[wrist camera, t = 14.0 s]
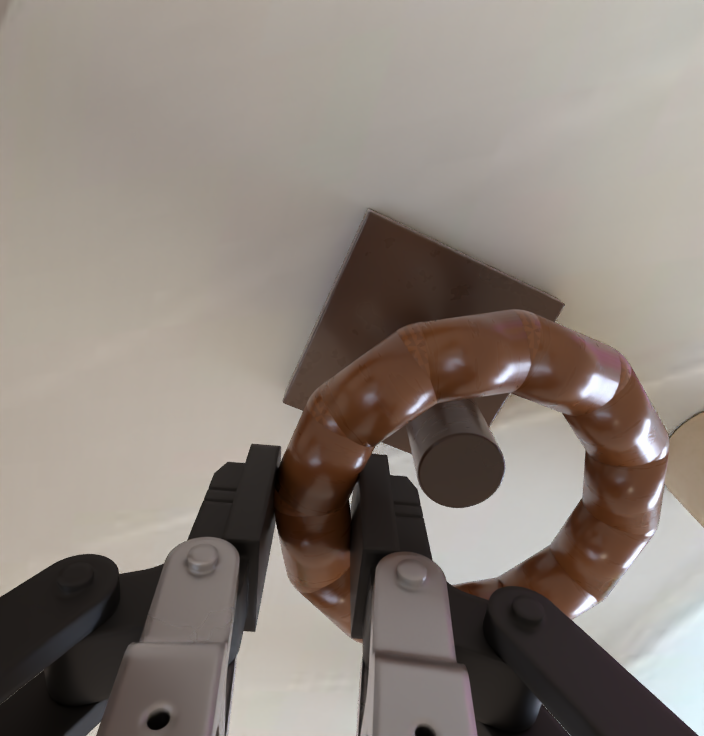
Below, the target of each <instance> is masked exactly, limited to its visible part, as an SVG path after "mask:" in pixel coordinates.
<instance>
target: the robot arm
mask: <svg viewBox="0 0 704 736" xmlns="http://www.w3.org/2000/svg"><path fill="white" fill-rule="evenodd" d="M280 461H281V446H273V445H261V444H251V447H250V450H249V453H248V456H247V459H246V462H245V463H235V462H227V463H226V464H225V465H224V466H222V467H221V468H220V469H219V470H218V471H216V472H215V473H214V476H213V478H212V480H211V483H210V485H209V490H207V493H206V495H205V498H204V501H203V503H202V505H201V508H200V510H199V513H198V515H197V518H196V520H195V523H194V525H193V527H192V530H191V532H190V535H189V537H188V540H187V541H185V542H183V543H181V544H179V545H178V546H176V547H175V548H174V549H173V550H172V551H171V552H170V553H169V554H168V556H167V558H166V560H165V563H164V564H162V565H159V566H157V567H154V568H150V569H146V570H140V571H135V572H129V573H123V574H119V571H118V568H117V565H116V564H115V563H114V562H113V561H112V560H111V559H109V558H107V557H105V556H101V555H95V554H83V555H76V556H72V557H68V558H65V559H63V560H60V561H58V562H56V563H54V564H53V565H51V566H49V567H48V568H46V569H44V570H43V571H41V572H40V573H38V574H36V575H35V576H33V577H32V578H30V579H29V580H27V581H25V582H24V583H22V584H21V585H19V586H17V587H16V588H14V589H13V590H11V591H9V592H8V593H6V594H5V595H3V596H1V597H0V736H86V735H87V734H88V733H89V732H90V731H91V730H92V729H93V728H94V727H95V726H97V725H98V724H99V723H100V722H101V723H100V726H99V729H98V732H97V735H96V736H228V731H229V722H230V714H231V705H232V697H233V688H234V680H235V671H236V657H237V654H238V651H239V648H240V644H241V639H242V635H243V631H251V632H255V630H256V625H257V619H258V614H259V609H260V603H261V598H262V592H263V587H264V582H265V576H266V571H267V566H268V560H269V555H270V549H271V544H272V539H273V533H274V528H275V522H276V520H275V515H274V492H275V482H276V475H277V470H278V467H279V465H280ZM351 518H352V532H351V545H350V610H351V638H354V639H363V658H362V664H361V671H360V684H359V700H358V716H357V732H356V736H570V735H571V736H698V735H697V734H696V733H695V732H694V731H693V730H692V729H691V728H690V727H688V726H687V725H686V724H685V723H684V722H683V721H682V720H681V719H680V718H679V717H677V716H676V715H675V714H674V713H673V712H672V711H671V710H670V709H669V708H668V707H666V706H665V705H664V704H663V703H662V702H661V701H660V700H659V699H658V698H657V697H656V696H654V695H653V694H652V693H651V692H650V691H649V690H648V689H647V688H646V687H645V686H643V685H642V684H641V683H640V682H639V681H638V680H637V679H636V678H635V677H634V676H632V675H631V674H630V673H629V672H628V671H627V670H626V669H625V668H624V667H623V666H621V665H620V664H619V663H618V662H617V661H616V660H615V659H614V658H613V657H612V656H610V655H609V654H608V653H607V652H606V651H605V650H604V649H603V648H602V647H601V646H599V645H598V644H597V643H596V642H595V641H594V640H593V639H592V638H591V637H590V636H588V635H587V634H586V633H585V632H584V631H583V630H582V629H581V628H580V627H579V626H577V625H576V624H575V623H574V622H573V621H572V620H571V619H570V618H569V617H568V616H566V615H565V614H564V613H563V612H562V611H561V610H560V609H559V608H558V607H557V606H555V605H554V604H553V603H552V602H551V601H550V600H549V599H547V598H546V597H544V596H543V595H541V594H539V593H537V592H536V591H533V590H531V589H528V588H524V587H519V586H506V587H502V588H499V589H497V590H495V591H494V592H493V593H492V595H491V596H490V598H489V600H487V599H484V598H481V597H478V596H475V595H472V594H469V593H466V592H464V591H461V590H459V589H457V588H455V587H454V586H452V585H451V584H449V583H448V582H447V581H446V577H445V575H444V573H443V571H442V570H441V568H440V567H439V566H438V565H437V564H436V563H435V562H433V561H432V556H431V551H430V546H429V542H428V537H427V532H426V527H425V523H424V518H423V513H422V509H421V506H420V499H419V494H418V490H417V488H416V487H415V486H414V485H413V484H412V482H411V481H410V480H409V479H408V478H407V477H405V476H393V475H390V472H389V464H388V457H387V455H379V454H371V456H370V458H369V460H368V461H367V463H366V465H365V467H364V469H363V471H362V472H361V473H360V475H359V479H358V481H357V483H356V485H355V487H354V489H353V495H352V503H351ZM40 672H41V673H40ZM35 676H36V677H35ZM30 680H31V681H30ZM26 683H27V684H26ZM25 684H26V685H25ZM21 687H22V688H21ZM20 688H21V689H20ZM16 691H17V692H16ZM11 695H12V696H11ZM6 699H7V700H6ZM2 702H3V703H2ZM1 703H2V704H1ZM543 705H544V706H545V707H546V708H547V709H548V710H547V709H546V708H545V707H544V706H543ZM552 715H553V716H554V717H555V718H556V719H557V720H556V719H555V718H554V717H553V716H552ZM560 724H561V725H562V726H563V727H564V728H565V729H564V728H563V727H562V726H561V725H560ZM568 733H569V734H570V735H569V734H568Z"/></svg>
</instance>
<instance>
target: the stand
mask: <svg viewBox="0 0 704 736" xmlns="http://www.w3.org/2000/svg"><path fill="white" fill-rule="evenodd" d="M564 305H565V304H564V303H563V302H561V301H560V300H558V299H557V298H555V297H554V296H552V295H549V294H547V293H545V292H543V291H541V290H539V289H537V288H535V287H533V286H531V285H528V284H526V283H524V282H522V281H520V280H518V279H516V278H514V277H512V276H510V275H508V274H505V273H503V272H501V271H499V270H497V269H495V268H493V267H491V266H489V265H487V264H484V263H482V262H480V261H478V260H476V259H474V258H472V257H470V256H468V255H466V254H464V253H461V252H459V251H457V250H455V249H453V248H451V247H449V246H447V245H445V244H443V243H440V242H438V241H436V240H434V239H432V238H430V237H428V236H426V235H424V234H422V233H419V232H417V231H415V230H413V229H411V228H409V227H407V226H405V225H403V224H401V223H399V222H396V221H394V220H392V219H390V218H388V217H386V216H384V215H382V214H380V213H378V212H375V211H373V210H371V209H367V211H366V213H365V215H364V218H363V220H362V222H361V224H360V226H359V229H358V231H357V233H356V235H355V238H354V240H353V242H352V244H351V246H350V249H349V251H348V253H347V255H346V257H345V260H344V262H343V264H342V266H341V269H340V271H339V273H338V275H337V277H336V280H335V282H334V284H333V286H332V289H331V291H330V293H329V295H328V297H327V300H326V302H325V304H324V306H323V309H322V311H321V313H320V315H319V317H318V320H317V322H316V324H315V326H314V328H313V331H312V333H311V335H310V337H309V340H308V342H307V344H306V346H305V348H304V351H303V353H302V355H301V357H300V360H299V362H298V364H297V366H296V368H295V371H294V373H293V375H292V377H291V380H290V382H289V384H288V386H287V388H286V391H285V394H284V398H283V403H285V404H287V405H290V406H293V407H295V408H298V409H300V410H303V411H304V408H305V406H306V404H307V402H308V400H309V398H310V396H311V395H312V394H313V392H314V391H315V390H316V389H317V388H318V387H320V386H321V385H322V384H323V383H325V382H326V381H328V380H329V379H330V378H332V377H333V376H334V375H336V374H337V373H339V372H340V371H341V370H343V369H344V368H345V367H347V366H348V365H350V364H351V363H352V362H354V361H355V360H356V359H358V358H359V357H361V356H362V355H363V354H365V353H366V352H368V351H369V350H370V349H372V348H373V347H374V346H376V345H377V344H379V343H380V342H381V341H383V340H384V339H385V338H387V337H388V336H390V335H391V334H392V333H394V332H395V331H396V330H398V329H399V328H401V327H403V326H406V325H409V324H412V323H418V322H426V321H433V320H440V319H447V318H454V317H461V316H468V315H475V314H482V313H489V312H497V311H504V310H512V309H517V310H518V309H519V310H525V311H528V312H532V313H534V314H536V315H539V316H541V317H543V318H546V319H548V320H550V321H553V322H555V320H556V319H557V317H558V315H559V314H560V312H561V310H562V309H563V307H564ZM509 394H510V393H503V394H496V395H489V396H483V397H476V398H469V399H463V400H456V401H449V402H442V403H437V404H435V405H434V406H432V407H431V408H429V409H428V410H427V411H425V412H424V413H422V414H421V415H419V416H418V417H416V418H415V419H414V420H412V421H411V422H409V423H408V424H406V425H405V426H403V427H402V428H401V429H399V430H398V431H396V432H395V433H393V434H392V435H390V436H389V437H388V438H386V439H385V440H383V441H382V442H383V443H385V444H388V445H390V446H393V447H395V448H398V449H400V450H403V451H405V452H408V453H410V454H412V455H413V460H414V464H415V469H416V473H417V478H418V482H419V485H420V487H421V489H422V490H423V492H424V493H425V494H426V495H427V496H428V497H429V498H430V499H431V500H433V501H434V502H436V503H438V504H440V505H443V506H446V507H452V508H464V507H470V506H474V505H476V504H479V503H481V502H483V501H485V500H486V499H488V498H489V497H490V496H491V495H493V493H494V492H495V491H496V490H497V489H498V488H499V486H500V484H501V482H502V480H503V477H504V473H505V460H504V456H503V454H502V452H501V450H500V448H499V446H498V444H497V442H496V440H495V438H494V436H493V434H492V432H491V431H490V429H489V426H490V425H491V423H492V421H493V420H494V418H495V417H496V415H497V413H498V412H499V410H500V409H501V407H502V405H503V404H504V402H505V401H506V399H507V397H508V396H509Z"/></svg>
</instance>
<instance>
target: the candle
mask: <svg viewBox="0 0 704 736" xmlns="http://www.w3.org/2000/svg"><path fill="white" fill-rule="evenodd" d="M669 444H670V446H669V456H668V463H667V470H666V477H665V485H666V486H667V488H668V489H669V491H670V492H671V493H672V494H673V495H674V497H675V498H676V499H677V500H678V501H679V502H680V503H681V504H682V505H683V506H684V507H685V508H686V509H687V510H688V512H689V513H690V514H691V515H692V516H693V517H694V518H695V519H696V520H697V521H698V522H699V523H700V524H701V525H702V526H703V527H704V412H703V413H701V414H699V415H696V416H695V417H693V418H691V419H690V420H688V421H687V422H686V423H684V424H683V425H682V426H681V427H680V428H678V429H677V430H676V432H675V433H674V434H673V435H672V436H671V438H670V439H669Z"/></svg>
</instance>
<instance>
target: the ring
mask: <svg viewBox="0 0 704 736" xmlns="http://www.w3.org/2000/svg"><path fill="white" fill-rule="evenodd" d="M503 393H512V394H515V395H517V396H520V397H522V398H525V399H528V400H530V401H533V402H535V403H538V404H541V405H543V406H546V407H548V408H551V409H554V410H556V411H559V412H562V414H563V415H564V417H565V418H566V420H567V421H568V423H569V425H570V426H571V428H572V429H573V431H574V432H575V434H576V435H577V437H578V438H579V440H580V441H581V443H582V445H583V446H584V448H585V449H586V453H585V467H584V481H583V496H582V499H581V500H580V502H579V503H578V505H577V506H576V508H575V509H574V511H573V512H572V514H571V515H570V516H569V518H568V519H567V521H566V522H565V524H564V525H563V527H562V528H561V530H560V531H559V533H558V534H557V536H556V537H555V539H554V540H553V542H552V543H551V545H549V546H547V547H546V548H544V549H543V550H541V551H539V552H538V553H536V554H535V555H533V556H531V557H530V558H528V559H526V560H525V561H523V562H522V563H520V564H518V565H517V566H515V567H514V568H512V569H510V570H509V571H507V572H506V573H504V574H502V575H501V576H499V577H497V578H491V579H485V580H479V581H473V582H467V583H462V584H456V585H452V586H454V587H455V588H457V589H459V590H461V591H464V592H466V593H469V594H472V595H475V596H478V597H481V598H484V599H487V600H489V598H490V596H491V595H492V593H493V592H494V591H495V590H497V589H499V588H502V587H506V586H519V587H524V588H528V589H531V590H533V591H536V592H537V593H539V594H541V595H543V596H544V597H546V598H547V599H549V600H550V601H551V602H552V603H553V604H554V605H555V606H557V607H558V608H559V609H560V610H561V611H562V612H563V613H564V614H565V615H566V616H568V617H569V618H570V619H571V620H572V619H574V618H575V617H577V616H579V615H580V614H582V613H584V612H586V611H587V610H589V609H591V608H592V607H594V606H596V605H597V604H599V603H600V602H602V601H603V600H604V599H605V598H606V597H607V596H608V595H609V593H610V592H611V591H612V589H613V588H614V587H615V585H616V584H617V583H618V581H619V580H620V579H621V577H622V576H623V575H624V573H625V572H626V571H627V569H628V568H629V567H630V565H631V564H632V563H633V561H634V560H635V559H636V557H637V556H638V555H639V553H640V552H641V551H642V549H643V548H644V547H645V545H646V544H647V543H648V541H649V540H650V539H651V537H652V536H653V535H654V533H655V531H656V530H657V527H658V524H659V519H660V512H661V505H662V498H663V491H664V484H665V477H666V470H667V463H668V456H669V446H670V444H669V437H668V434H667V431H666V429H665V427H664V425H663V423H662V421H661V419H660V418H659V416H658V414H657V412H656V410H655V409H654V407H653V405H652V403H651V401H650V400H649V398H648V396H647V394H646V392H645V391H644V389H643V387H642V385H641V383H640V382H639V380H638V378H637V376H636V374H635V373H634V371H633V369H632V367H631V365H630V364H629V362H628V361H627V359H626V358H625V357H624V356H623V355H622V354H621V353H620V352H619V351H618V350H616V349H614V348H612V347H610V346H608V345H606V344H604V343H601V342H599V341H597V340H594V339H592V338H590V337H587V336H585V335H583V334H581V333H578V332H576V331H574V330H571V329H569V328H567V327H564V326H562V325H560V324H557V323H555V322H553V321H550V320H548V319H546V318H543V317H541V316H539V315H536V314H534V313H532V312H528V311H525V310H519V309H518V310H517V309H512V310H504V311H497V312H489V313H482V314H475V315H468V316H461V317H454V318H447V319H440V320H433V321H426V322H418V323H412V324H409V325H406V326H403V327H401V328H399V329H398V330H396V331H395V332H394V333H392V334H391V335H390V336H388V337H387V338H385V339H384V340H383V341H381V342H380V343H379V344H377V345H376V346H374V347H373V348H372V349H370V350H369V351H368V352H366V353H365V354H363V355H362V356H361V357H359V358H358V359H356V360H355V361H354V362H352V363H351V364H350V365H348V366H347V367H345V368H344V369H343V370H341V371H340V372H339V373H337V374H336V375H334V376H333V377H332V378H330V379H329V380H328V381H326V382H325V383H323V384H322V385H321V386H320V387H318V388H317V389H316V390H315V391H314V392H313V394H312V395H311V396H310V398H309V400H308V402H307V404H306V406H305V408H304V411H303V413H302V415H301V418H300V420H299V422H298V424H297V427H296V429H295V431H294V433H293V436H292V438H291V440H290V442H289V445H288V447H287V449H286V451H285V454H284V456H283V458H282V461H281V463H280V465H279V467H278V470H277V475H276V482H275V492H274V515H275V520H276V525H277V529H278V534H279V539H280V544H281V549H282V553H283V558H284V563H285V568H286V572H287V575H288V578H289V580H290V582H291V583H292V584H293V586H294V587H295V588H296V589H297V590H298V591H299V592H300V593H301V594H302V595H303V596H304V597H305V598H307V599H308V600H309V601H310V602H311V603H312V604H313V605H314V606H315V607H316V608H318V609H319V610H320V611H321V612H322V613H323V614H324V615H325V616H326V617H328V618H329V619H330V620H331V621H332V622H333V623H334V624H335V625H336V626H338V627H339V628H340V629H341V630H342V631H343V632H344V633H345V634H346V635H347V636H349V637H350V638H351V610H350V545H351V532H352V518H351V511H350V504H349V497H350V495H351V493H352V491H353V489H354V487H355V485H356V483H357V481H358V479H359V475H360V473H361V472H362V471H363V469H364V467H365V465H366V463H367V461H368V460H369V458H370V456H371V454H372V452H373V450H374V448H375V446H376V445H377V444H379V443H380V442H382V441H383V440H385V439H386V438H388V437H389V436H390V435H392V434H393V433H395V432H396V431H398V430H399V429H401V428H402V427H403V426H405V425H406V424H408V423H409V422H411V421H412V420H414V419H415V418H416V417H418V416H419V415H421V414H422V413H424V412H425V411H427V410H428V409H429V408H431V407H432V406H434V405H435V404H437V403H442V402H449V401H456V400H463V399H469V398H476V397H483V396H489V395H496V394H503ZM351 639H353V640H355V641H356V642H359V643H362V644H363V639H354V638H351Z"/></svg>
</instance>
